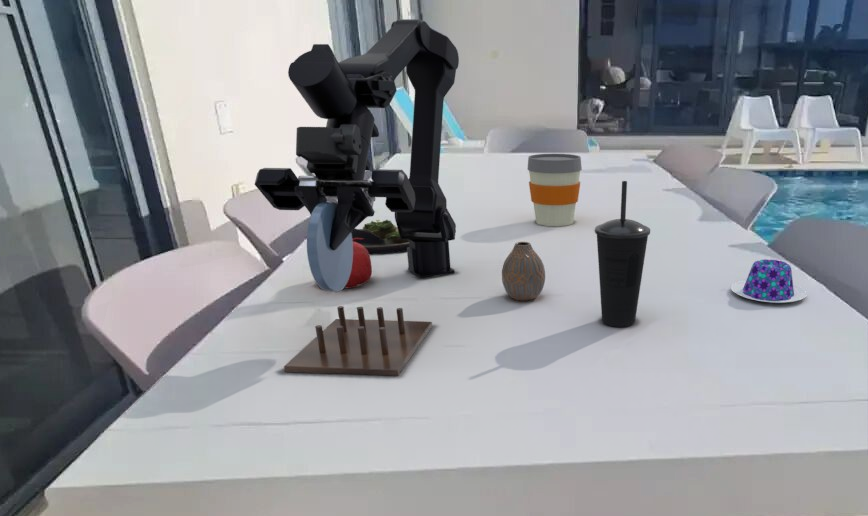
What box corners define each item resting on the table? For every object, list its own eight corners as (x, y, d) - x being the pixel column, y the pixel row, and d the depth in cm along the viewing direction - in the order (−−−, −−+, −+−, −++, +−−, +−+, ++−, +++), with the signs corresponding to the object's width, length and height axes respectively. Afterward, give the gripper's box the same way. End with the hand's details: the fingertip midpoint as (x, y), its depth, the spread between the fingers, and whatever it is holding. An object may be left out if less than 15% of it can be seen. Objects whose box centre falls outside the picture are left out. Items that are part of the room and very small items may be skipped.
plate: (348, 277, 87) (338, 195, 83) (357, 278, 87) (347, 195, 83) (314, 302, 77) (300, 210, 73) (324, 302, 77) (310, 210, 73)
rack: (336, 323, 92) (332, 295, 90) (432, 326, 91) (429, 298, 89) (284, 372, 77) (278, 339, 76) (398, 375, 77) (394, 343, 75)
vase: (552, 293, 105) (552, 240, 101) (533, 306, 99) (532, 251, 95) (515, 287, 107) (514, 236, 104) (494, 300, 101) (492, 246, 98)
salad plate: (340, 233, 141) (337, 212, 139) (423, 229, 145) (421, 209, 143) (331, 256, 124) (327, 233, 122) (424, 251, 128) (422, 228, 126)
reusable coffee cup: (523, 226, 148) (521, 159, 142) (534, 215, 159) (533, 152, 153) (576, 229, 146) (577, 161, 140) (584, 217, 157) (585, 154, 151)
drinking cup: (649, 315, 96) (658, 178, 87) (638, 333, 89) (646, 187, 81) (600, 309, 98) (604, 175, 89) (585, 326, 91) (588, 184, 83)
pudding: (716, 294, 104) (719, 263, 102) (752, 278, 112) (755, 249, 110) (785, 312, 97) (790, 279, 95) (818, 294, 105) (823, 263, 103)
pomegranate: (357, 271, 115) (350, 219, 112) (385, 283, 109) (379, 229, 105) (303, 282, 109) (294, 228, 105) (330, 296, 103) (321, 239, 99)
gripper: (245, 98, 76) (215, 210, 71) (398, 99, 76) (379, 213, 70) (287, 158, 87) (264, 259, 82) (422, 159, 86) (407, 262, 81)
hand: (325, 248), depth 78 cm, fingers closed on plate, 1 cm apart
